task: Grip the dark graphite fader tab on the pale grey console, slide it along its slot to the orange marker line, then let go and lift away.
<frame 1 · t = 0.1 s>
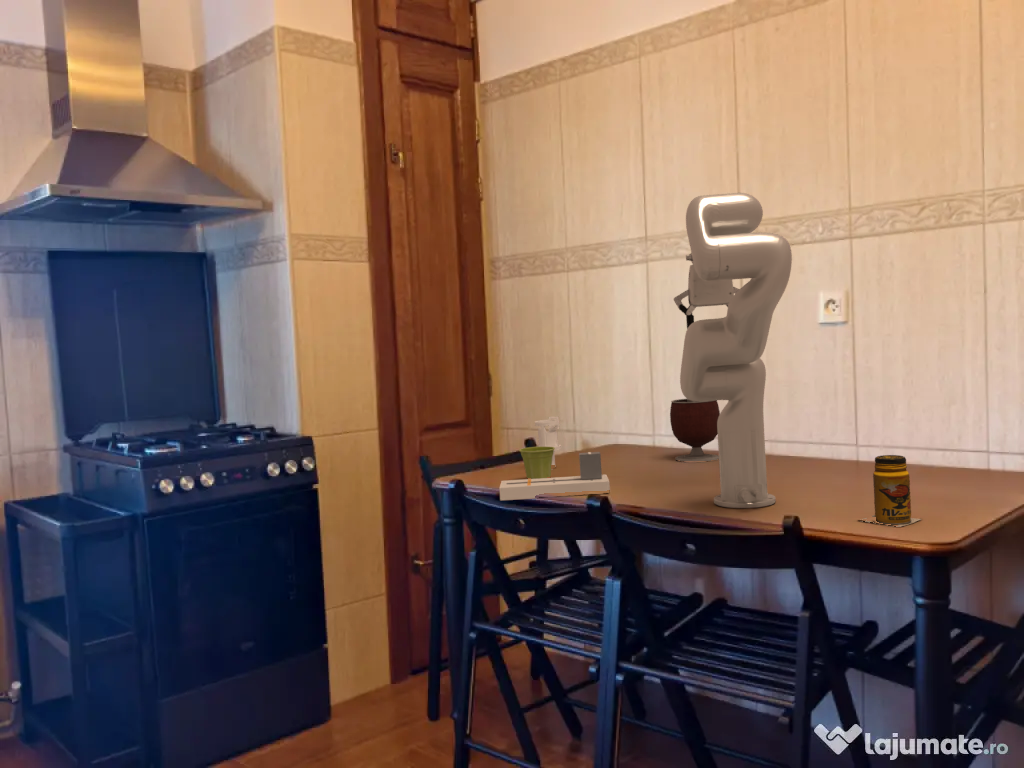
hand: (712, 330, 201), 37 cm above the table, tool pointing down, fingers open, 9 cm apart
condiment: (889, 522, 155), on the table
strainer: (550, 469, 244), on the table
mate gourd: (696, 460, 242), on the table
console: (554, 493, 205), on the table
fader: (590, 465, 204), point 6 cm above the table, slide at -9.0 cm
plant pot: (539, 481, 224), on the table
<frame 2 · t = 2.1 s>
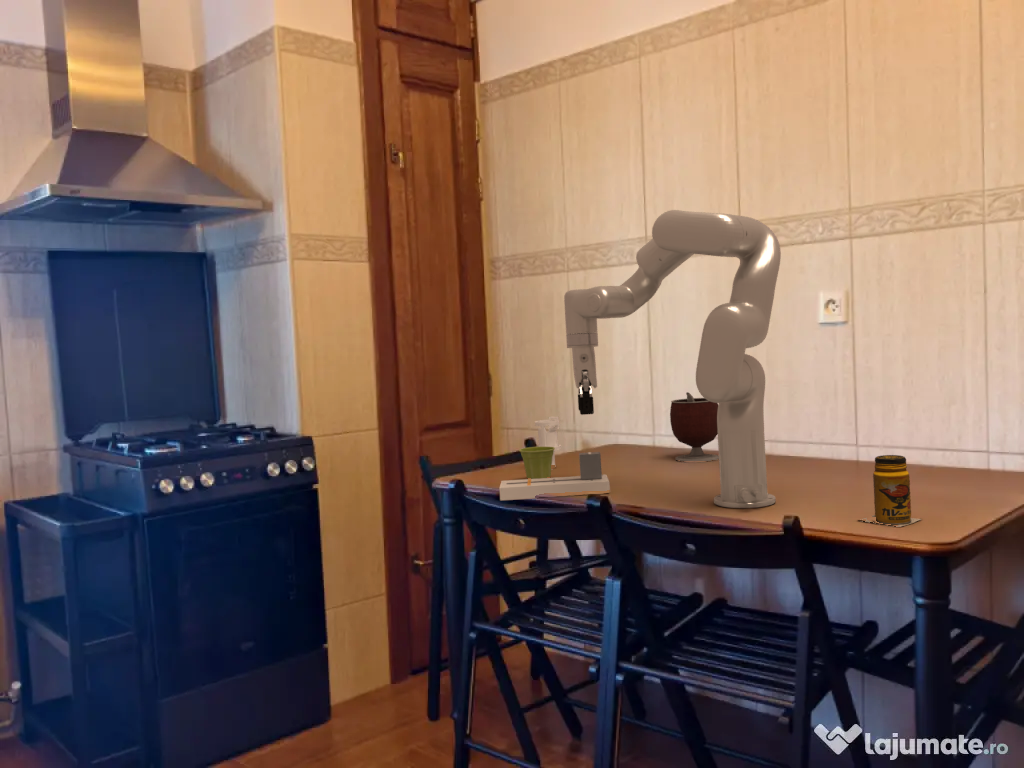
hand: (586, 412, 204), 19 cm above the table, tool pointing down, fingers open, 9 cm apart
nothing on the table moved.
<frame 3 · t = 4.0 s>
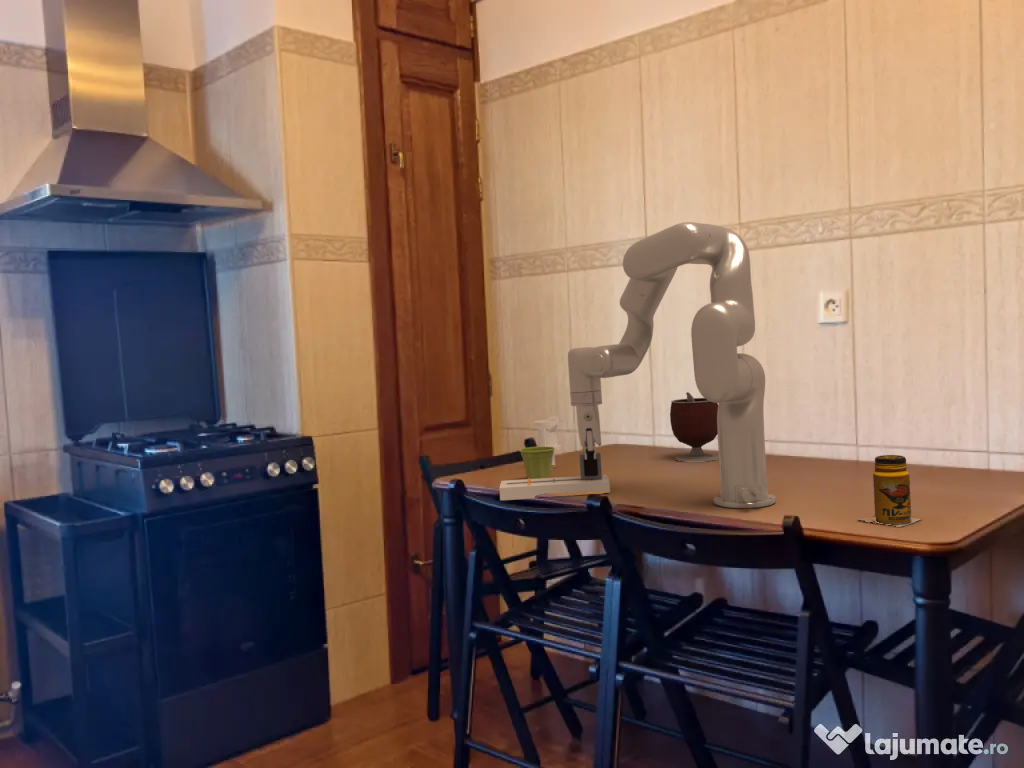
hand: (590, 473, 204), 4 cm above the table, tool pointing down, fingers closed on fader, 3 cm apart
fader: (590, 465, 204), point 6 cm above the table, slide at -9.0 cm, touching gripper
everything else where it was.
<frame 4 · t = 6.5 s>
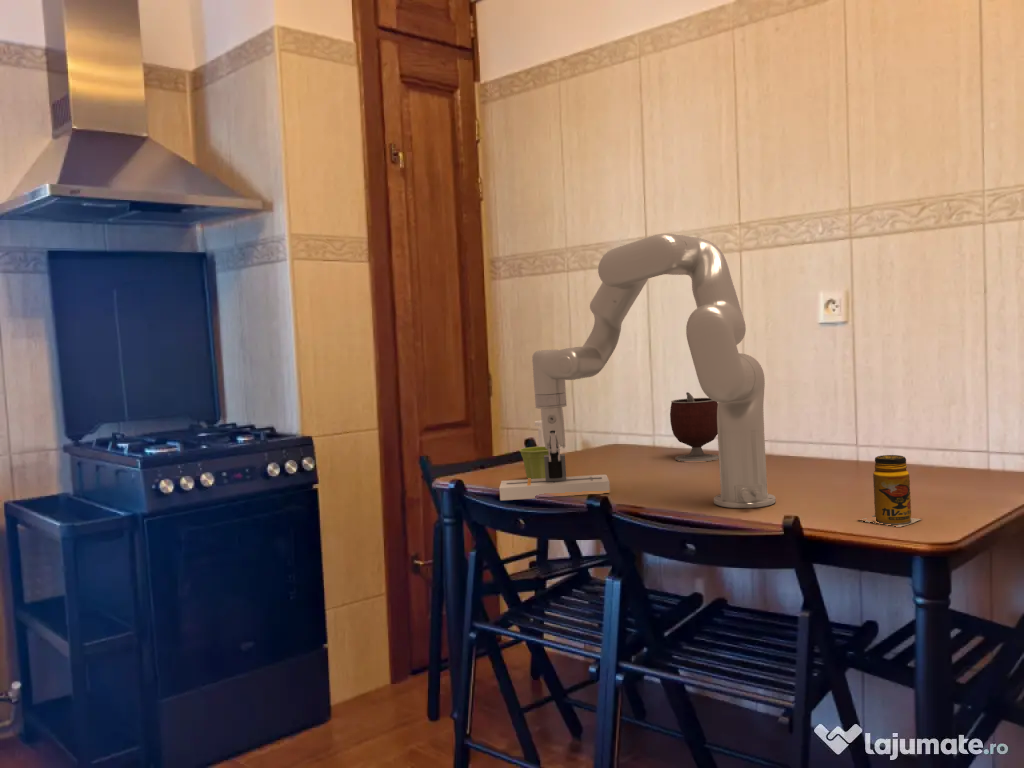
hand: (555, 475, 205), 4 cm above the table, tool pointing down, fingers closed on fader, 3 cm apart
fader: (555, 467, 205), point 6 cm above the table, slide at -0.5 cm, touching gripper
everything else where it was.
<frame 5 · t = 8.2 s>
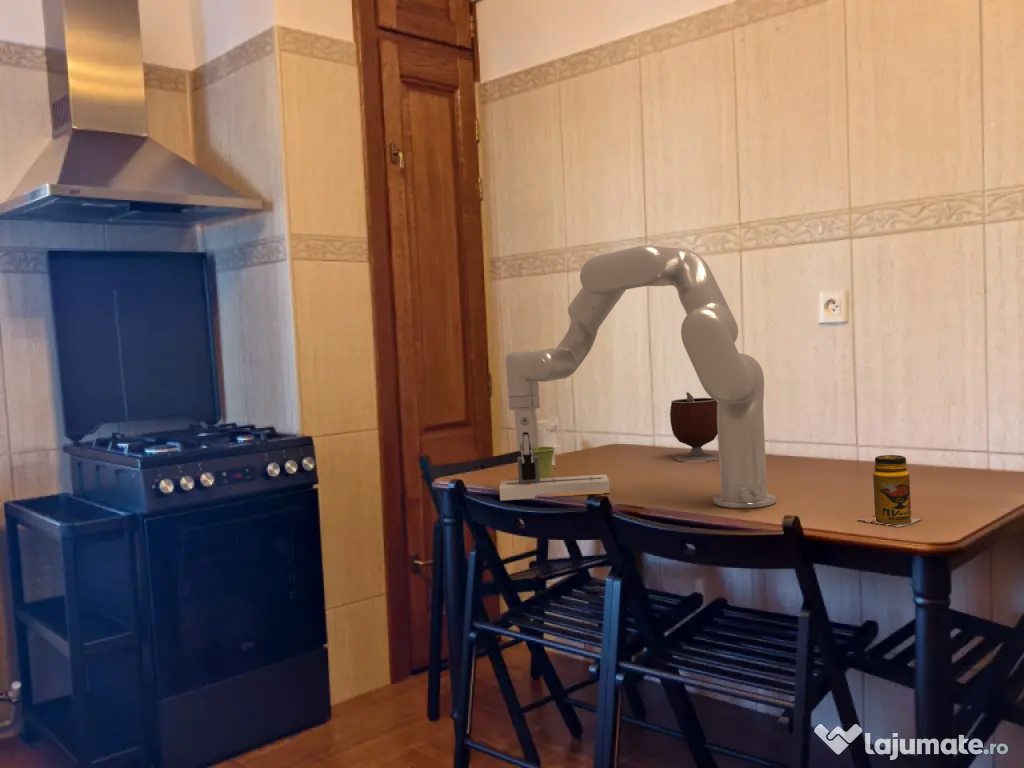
hand: (529, 477, 205), 4 cm above the table, tool pointing down, fingers closed on fader, 3 cm apart
fader: (528, 469, 205), point 6 cm above the table, slide at 5.9 cm, touching gripper
everything else where it was.
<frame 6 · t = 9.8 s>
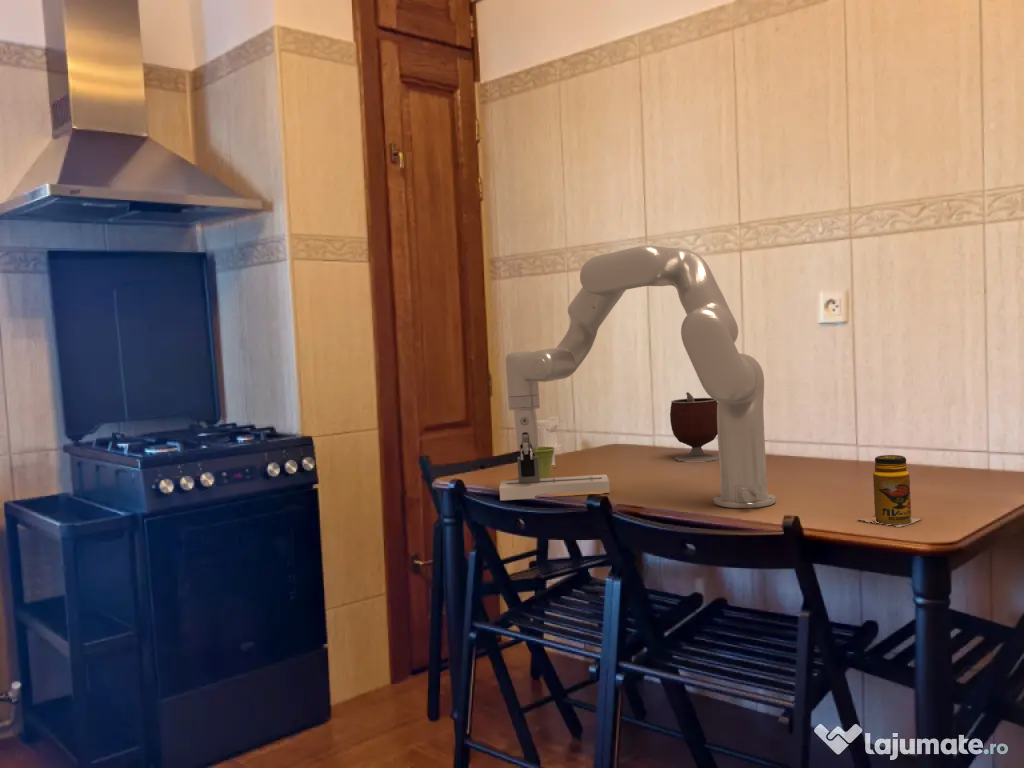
hand: (528, 473, 205), 5 cm above the table, tool pointing down, fingers open, 9 cm apart
fader: (528, 469, 205), point 6 cm above the table, slide at 6.0 cm
everything else where it was.
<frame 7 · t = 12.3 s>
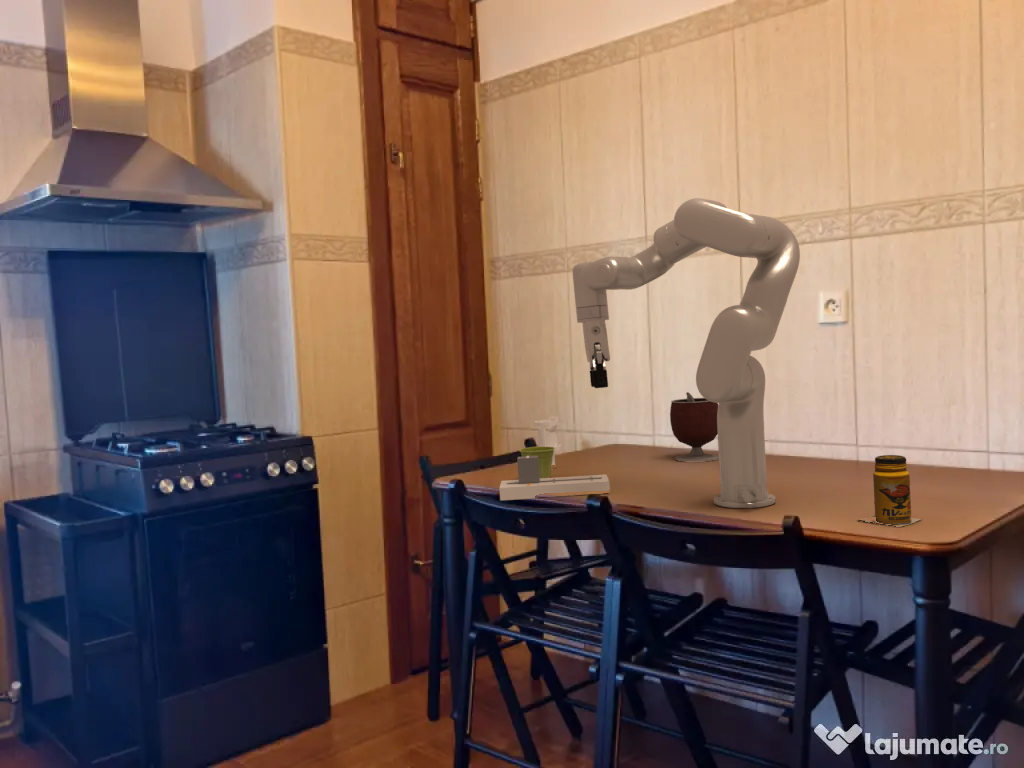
hand: (599, 387, 200), 25 cm above the table, tool pointing down, fingers open, 9 cm apart
nothing on the table moved.
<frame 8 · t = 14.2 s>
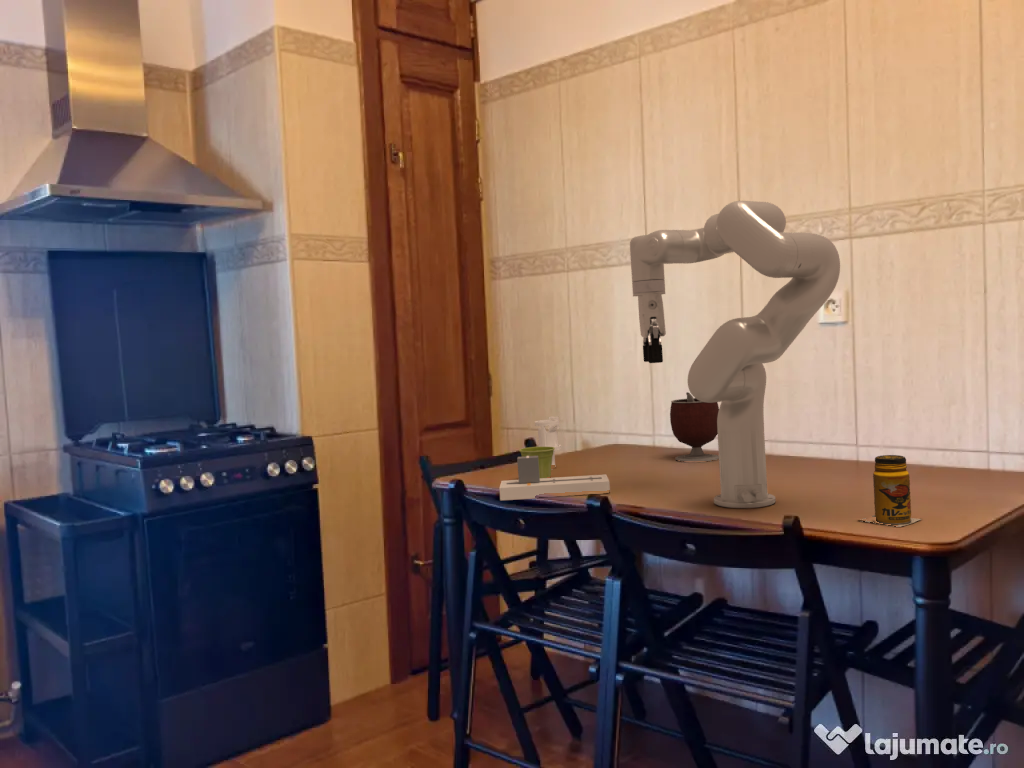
hand: (653, 362, 198), 30 cm above the table, tool pointing down, fingers open, 9 cm apart
nothing on the table moved.
at the end: fader slide at 6.0 cm; plant pot moved 0.2 cm from its start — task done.
